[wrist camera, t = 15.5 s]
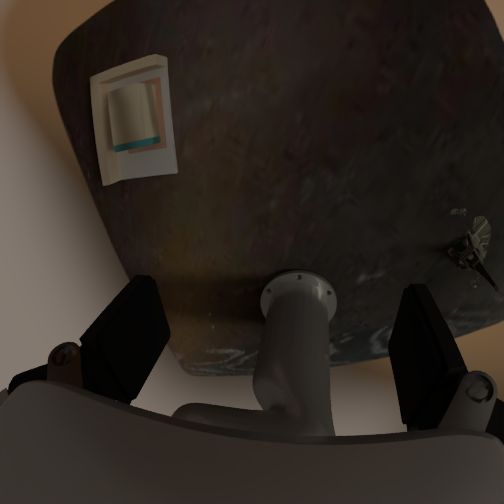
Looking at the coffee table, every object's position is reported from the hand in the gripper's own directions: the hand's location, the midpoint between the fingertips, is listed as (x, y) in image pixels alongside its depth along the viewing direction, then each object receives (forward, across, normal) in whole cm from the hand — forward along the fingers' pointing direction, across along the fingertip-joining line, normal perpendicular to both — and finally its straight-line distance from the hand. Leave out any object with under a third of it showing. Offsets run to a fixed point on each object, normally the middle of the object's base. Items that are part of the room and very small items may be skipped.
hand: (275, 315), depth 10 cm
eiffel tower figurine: (+31, -29, +12) cm, 44 cm away
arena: (+30, +24, -9) cm, 39 cm away
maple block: (+30, +22, -9) cm, 38 cm away
